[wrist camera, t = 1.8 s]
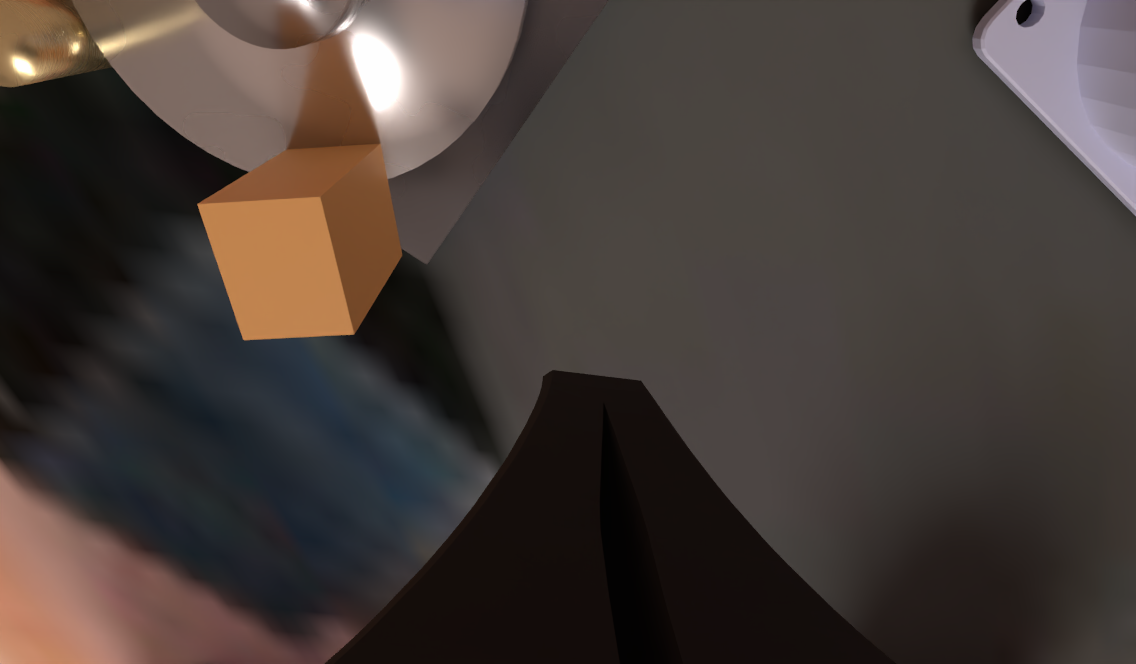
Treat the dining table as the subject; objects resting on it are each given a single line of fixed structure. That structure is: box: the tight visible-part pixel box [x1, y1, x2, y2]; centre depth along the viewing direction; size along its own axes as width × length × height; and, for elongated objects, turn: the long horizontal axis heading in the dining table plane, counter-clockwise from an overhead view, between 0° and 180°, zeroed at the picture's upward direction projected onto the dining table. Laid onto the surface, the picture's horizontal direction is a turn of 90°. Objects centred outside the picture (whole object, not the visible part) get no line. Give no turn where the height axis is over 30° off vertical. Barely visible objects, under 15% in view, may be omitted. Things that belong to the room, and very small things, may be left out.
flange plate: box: [72, 0, 528, 340], centre depth 9 cm, size 8×7×4 cm
